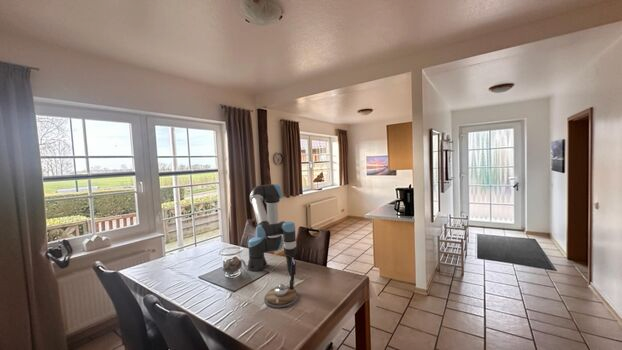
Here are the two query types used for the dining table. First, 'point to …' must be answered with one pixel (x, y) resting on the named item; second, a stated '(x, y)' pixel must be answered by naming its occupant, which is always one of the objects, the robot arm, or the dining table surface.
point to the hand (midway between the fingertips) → (292, 284)
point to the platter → (281, 300)
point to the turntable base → (281, 305)
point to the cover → (281, 290)
